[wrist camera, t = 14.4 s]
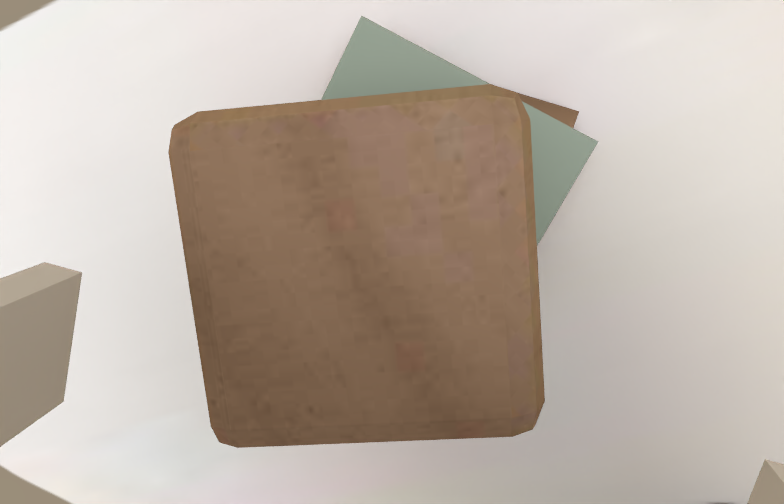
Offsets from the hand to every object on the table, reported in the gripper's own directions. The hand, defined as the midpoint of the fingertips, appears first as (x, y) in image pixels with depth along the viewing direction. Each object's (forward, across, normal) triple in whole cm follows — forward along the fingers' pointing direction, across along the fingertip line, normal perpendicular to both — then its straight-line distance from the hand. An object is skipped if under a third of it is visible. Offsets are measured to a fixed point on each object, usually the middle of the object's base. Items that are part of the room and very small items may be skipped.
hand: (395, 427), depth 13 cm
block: (+26, +3, -1) cm, 26 cm away
